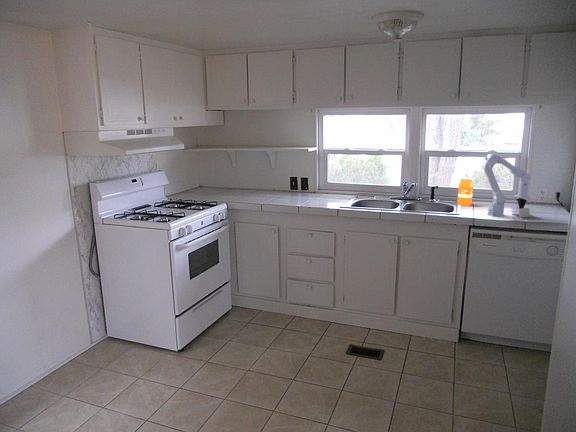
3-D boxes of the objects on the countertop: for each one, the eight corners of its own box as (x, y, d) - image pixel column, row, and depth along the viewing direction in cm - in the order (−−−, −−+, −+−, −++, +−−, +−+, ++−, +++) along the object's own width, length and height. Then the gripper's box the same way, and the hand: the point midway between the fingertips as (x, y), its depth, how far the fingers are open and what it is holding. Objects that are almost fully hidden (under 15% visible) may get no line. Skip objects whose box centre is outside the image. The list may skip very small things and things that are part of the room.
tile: (520, 217, 300) (521, 208, 299) (519, 216, 302) (519, 208, 301) (529, 217, 300) (530, 208, 299) (527, 216, 302) (528, 208, 301)
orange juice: (460, 202, 353) (462, 178, 348) (471, 204, 347) (473, 179, 343) (457, 204, 347) (459, 179, 342) (468, 205, 341) (470, 180, 337)
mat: (525, 220, 294) (525, 219, 294) (511, 214, 310) (511, 214, 310) (542, 219, 295) (542, 219, 295) (527, 214, 311) (527, 213, 311)
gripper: (535, 191, 294) (533, 211, 298) (522, 188, 308) (520, 206, 312) (525, 191, 294) (523, 211, 297) (512, 188, 308) (510, 207, 311)
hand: (521, 209), depth 304 cm, fingers closed
